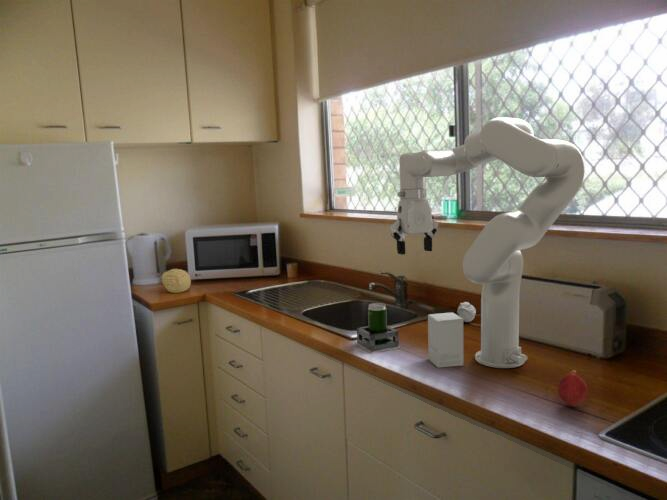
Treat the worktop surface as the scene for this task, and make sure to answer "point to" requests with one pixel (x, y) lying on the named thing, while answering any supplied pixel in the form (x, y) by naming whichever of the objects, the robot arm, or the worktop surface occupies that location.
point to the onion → (572, 389)
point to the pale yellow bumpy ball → (176, 280)
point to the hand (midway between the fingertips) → (414, 252)
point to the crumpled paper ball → (466, 311)
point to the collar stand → (369, 339)
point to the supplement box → (445, 339)
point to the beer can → (377, 320)
